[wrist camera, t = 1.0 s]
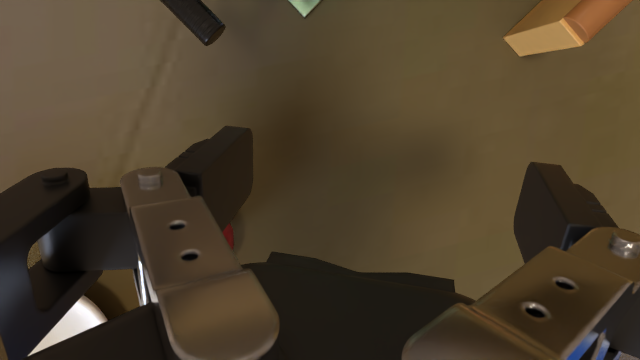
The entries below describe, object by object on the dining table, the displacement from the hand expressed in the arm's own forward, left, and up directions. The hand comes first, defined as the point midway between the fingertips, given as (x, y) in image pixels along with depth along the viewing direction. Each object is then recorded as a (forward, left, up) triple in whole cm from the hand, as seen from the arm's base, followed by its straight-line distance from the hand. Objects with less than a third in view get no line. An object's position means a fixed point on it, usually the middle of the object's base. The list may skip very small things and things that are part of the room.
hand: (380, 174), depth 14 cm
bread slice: (-3, +17, -24) cm, 29 cm away
